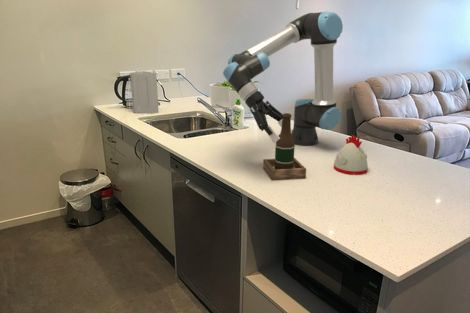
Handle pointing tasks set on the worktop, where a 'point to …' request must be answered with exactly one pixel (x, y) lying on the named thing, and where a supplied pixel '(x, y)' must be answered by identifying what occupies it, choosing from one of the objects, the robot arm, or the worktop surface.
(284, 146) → the beer bottle
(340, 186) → the worktop surface
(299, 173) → the square wooden tray
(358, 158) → the kitchen timer
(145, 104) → the paper bag
